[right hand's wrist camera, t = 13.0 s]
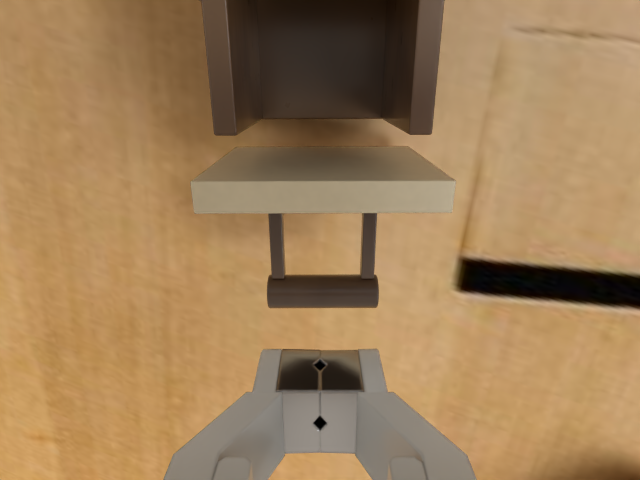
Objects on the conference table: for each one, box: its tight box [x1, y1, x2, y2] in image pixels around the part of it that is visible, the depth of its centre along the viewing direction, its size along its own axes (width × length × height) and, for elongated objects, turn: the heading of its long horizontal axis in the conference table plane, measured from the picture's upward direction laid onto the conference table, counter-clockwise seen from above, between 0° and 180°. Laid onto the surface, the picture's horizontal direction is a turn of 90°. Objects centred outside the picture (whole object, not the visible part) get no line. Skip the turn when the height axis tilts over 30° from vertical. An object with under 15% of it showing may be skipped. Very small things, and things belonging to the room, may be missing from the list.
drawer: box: [190, 0, 456, 308], centre depth 16 cm, size 24×9×8 cm, turn 0°
